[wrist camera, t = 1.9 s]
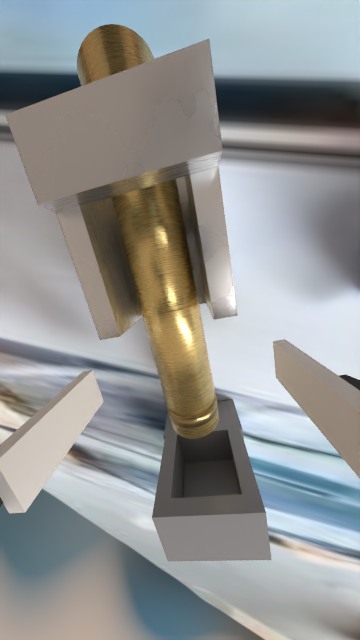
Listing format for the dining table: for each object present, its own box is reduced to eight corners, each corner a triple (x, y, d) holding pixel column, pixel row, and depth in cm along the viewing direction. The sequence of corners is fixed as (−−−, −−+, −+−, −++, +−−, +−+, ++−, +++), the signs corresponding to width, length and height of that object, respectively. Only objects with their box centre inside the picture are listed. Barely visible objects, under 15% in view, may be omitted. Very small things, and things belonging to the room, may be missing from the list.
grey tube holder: (114, 205, 16) (-6, 99, 6) (199, 181, 15) (212, 14, 5) (142, 308, 19) (86, 347, 9) (216, 293, 18) (247, 319, 8)
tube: (102, 123, 11) (54, 43, 7) (163, 103, 11) (146, 5, 7) (173, 402, 17) (167, 442, 13) (216, 396, 16) (223, 436, 12)
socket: (168, 407, 22) (149, 517, 12) (232, 399, 21) (269, 512, 11) (176, 438, 23) (165, 561, 13) (237, 432, 22) (274, 559, 12)
